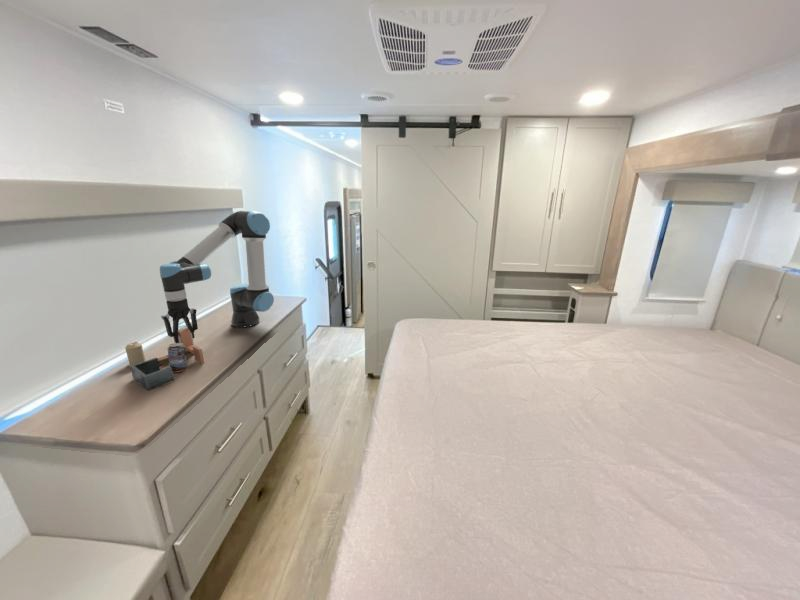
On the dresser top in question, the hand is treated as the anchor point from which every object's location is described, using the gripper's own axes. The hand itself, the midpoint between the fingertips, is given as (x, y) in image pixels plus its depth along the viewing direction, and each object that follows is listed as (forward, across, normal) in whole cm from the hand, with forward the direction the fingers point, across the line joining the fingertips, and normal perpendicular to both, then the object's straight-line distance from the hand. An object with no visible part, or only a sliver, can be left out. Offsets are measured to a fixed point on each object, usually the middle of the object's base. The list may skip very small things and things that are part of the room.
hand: (186, 346), depth 144 cm
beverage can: (+5, +8, +11) cm, 14 cm away
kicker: (+4, 0, +6) cm, 7 cm away
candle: (+5, +16, -10) cm, 19 cm away
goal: (+5, +17, +11) cm, 21 cm away
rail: (+5, +6, 0) cm, 8 cm away
